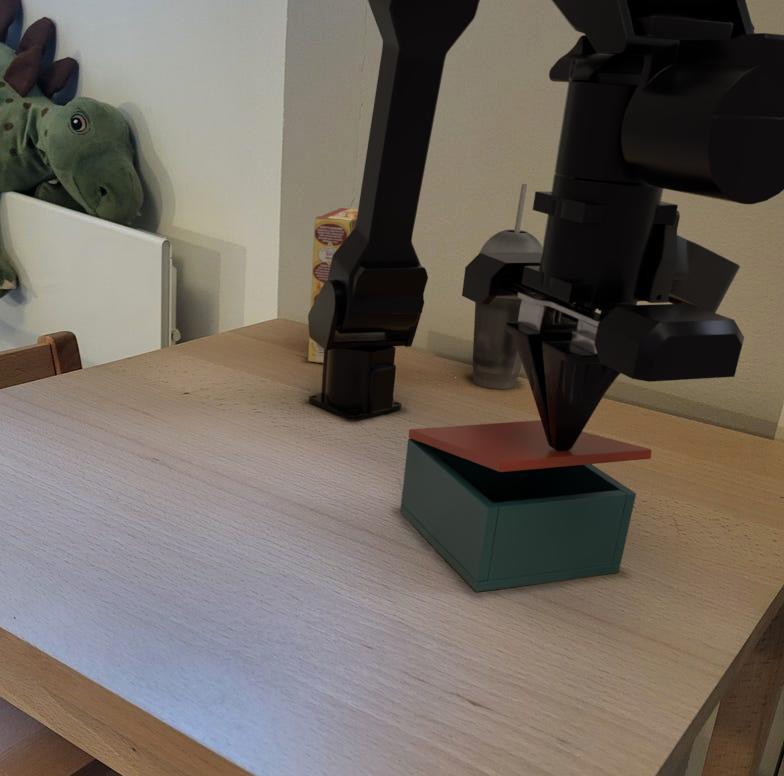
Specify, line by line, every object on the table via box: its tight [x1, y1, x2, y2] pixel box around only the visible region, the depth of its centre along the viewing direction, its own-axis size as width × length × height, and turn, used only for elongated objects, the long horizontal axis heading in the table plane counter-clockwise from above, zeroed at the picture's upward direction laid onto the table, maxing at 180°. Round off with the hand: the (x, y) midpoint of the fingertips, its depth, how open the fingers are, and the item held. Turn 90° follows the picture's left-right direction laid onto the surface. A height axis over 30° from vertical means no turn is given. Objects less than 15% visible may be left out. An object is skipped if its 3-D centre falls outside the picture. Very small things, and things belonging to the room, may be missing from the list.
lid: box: [408, 419, 653, 472], centre depth 59 cm, size 12×10×1 cm
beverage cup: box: [471, 183, 543, 390], centre depth 92 cm, size 7×7×20 cm
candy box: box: [307, 207, 358, 364], centre depth 99 cm, size 9×4×15 cm, turn 161°
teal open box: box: [399, 438, 637, 593], centre depth 61 cm, size 11×10×6 cm
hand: (559, 448), depth 55 cm, fingers closed
